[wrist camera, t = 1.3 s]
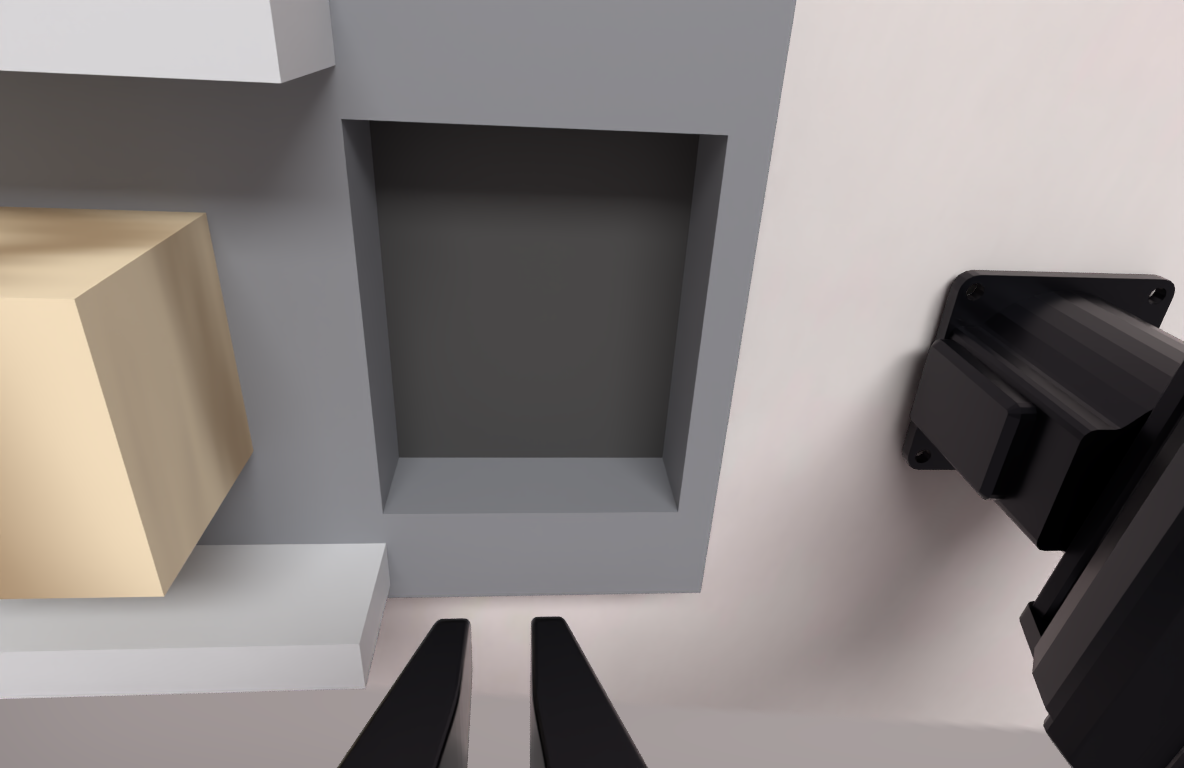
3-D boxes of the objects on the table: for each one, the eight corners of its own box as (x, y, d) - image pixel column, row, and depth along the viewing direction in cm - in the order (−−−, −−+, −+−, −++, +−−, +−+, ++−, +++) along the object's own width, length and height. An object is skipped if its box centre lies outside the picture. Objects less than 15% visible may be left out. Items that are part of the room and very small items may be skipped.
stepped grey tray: (757, -21, 17) (876, -31, 11) (681, 527, 24) (728, 692, 18) (-942, -126, 14) (-2007, -218, 8) (-429, 537, 21) (-785, 736, 15)
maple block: (205, 212, 15) (74, 298, 11) (253, 451, 18) (164, 597, 14) (-102, 203, 15) (-372, 290, 10) (-4, 450, 17) (-183, 602, 13)
